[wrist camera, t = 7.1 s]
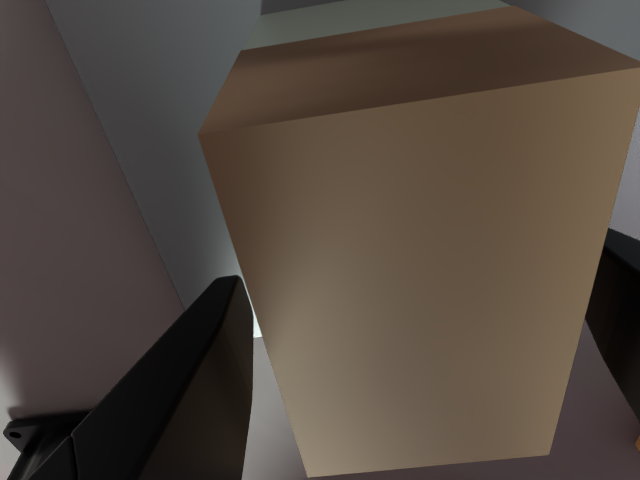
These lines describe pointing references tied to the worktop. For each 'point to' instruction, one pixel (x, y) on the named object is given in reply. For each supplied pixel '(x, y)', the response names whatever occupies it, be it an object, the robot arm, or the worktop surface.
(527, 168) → the walnut brick
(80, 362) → the worktop surface
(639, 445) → the orange brick
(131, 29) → the baseplate
